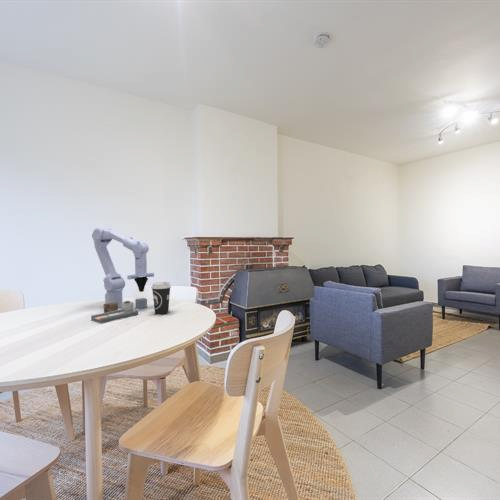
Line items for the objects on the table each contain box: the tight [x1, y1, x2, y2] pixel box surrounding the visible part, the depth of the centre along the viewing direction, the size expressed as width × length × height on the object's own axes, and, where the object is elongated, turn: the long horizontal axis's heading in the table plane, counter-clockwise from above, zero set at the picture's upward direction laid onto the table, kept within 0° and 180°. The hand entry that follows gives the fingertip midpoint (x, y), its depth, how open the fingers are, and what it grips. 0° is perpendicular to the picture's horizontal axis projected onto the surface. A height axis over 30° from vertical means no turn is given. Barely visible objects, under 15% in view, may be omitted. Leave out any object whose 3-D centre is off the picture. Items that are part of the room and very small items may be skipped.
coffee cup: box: [150, 281, 172, 315], centre depth 143 cm, size 10×10×15 cm
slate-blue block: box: [135, 297, 148, 310], centre depth 154 cm, size 4×4×5 cm
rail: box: [90, 309, 139, 324], centre depth 135 cm, size 9×18×2 cm, turn 143°
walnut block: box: [103, 302, 119, 313], centre depth 144 cm, size 4×4×5 cm
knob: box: [120, 300, 134, 313], centre depth 140 cm, size 4×4×5 cm
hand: (141, 291), depth 151 cm, fingers closed
